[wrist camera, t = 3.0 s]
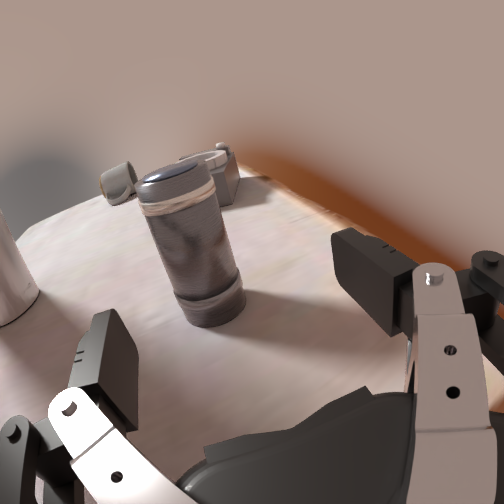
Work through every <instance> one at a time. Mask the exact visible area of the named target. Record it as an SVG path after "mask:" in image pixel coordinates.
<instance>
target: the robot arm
mask: <svg viewBox="0 0 504 504" xmlns="http://www.w3.org/2000/svg"><path fill="white" fill-rule="evenodd" d="M331 245H332V253H333V261H334V270H335V275H336V278H337V280H338V282H339V284H340V286H341V287H342V288H343V289H344V290H345V291H346V292H347V293H348V294H349V295H350V296H351V297H352V298H353V299H354V300H355V301H356V302H357V303H358V304H359V305H360V306H361V307H362V308H363V309H364V310H365V311H366V312H367V313H368V314H369V315H370V316H371V317H372V318H373V319H374V320H375V322H376V323H377V324H378V325H379V326H380V327H381V328H382V329H383V330H384V331H385V332H386V333H387V334H388V335H389V336H390V337H393V336H395V335H397V334H399V333H401V332H403V333H404V334H405V335H406V336H407V348H406V371H405V385H404V392H388V393H381V394H375V395H372V394H371V392H370V391H369V390H368V388H367V387H366V386H364V387H362V388H360V389H358V390H355V391H353V392H351V393H349V394H347V395H345V396H343V397H341V398H339V399H336V400H334V401H332V402H330V403H328V404H326V405H325V406H324V407H322V408H321V409H320V410H318V411H317V412H315V413H314V414H312V415H311V416H310V417H308V418H307V419H305V420H304V421H302V422H301V423H299V424H298V425H296V426H295V427H293V428H291V429H287V430H281V431H274V432H267V433H258V434H249V435H243V436H240V437H236V438H233V439H230V440H226V441H223V442H219V443H216V444H212V445H208V446H205V447H204V451H205V456H206V459H204V460H202V461H200V462H199V463H197V464H196V465H194V466H193V467H192V468H190V469H189V470H188V471H187V472H185V473H184V475H183V476H182V477H181V478H180V479H179V480H178V481H177V482H176V483H175V482H174V481H173V480H171V479H170V478H169V477H168V476H167V475H165V474H164V473H163V472H162V471H161V470H160V469H159V468H157V467H156V466H155V465H154V464H153V463H152V462H151V461H150V460H149V459H148V458H146V457H145V456H144V455H143V454H142V453H141V452H140V451H139V450H138V449H137V448H136V447H135V446H134V445H133V444H132V443H131V442H130V441H129V440H128V439H127V438H126V432H131V431H136V430H138V363H139V356H138V351H137V348H136V345H135V343H134V341H133V339H132V337H131V336H130V334H129V332H128V330H127V329H126V327H125V325H124V323H123V322H122V320H121V318H120V316H119V314H118V313H117V311H116V310H115V309H110V310H107V311H104V312H101V313H98V314H95V315H94V316H93V319H92V323H91V327H90V330H89V331H87V332H86V333H85V334H84V336H83V337H82V339H81V340H80V341H79V344H78V348H77V351H76V354H77V355H75V359H74V363H73V367H72V371H71V375H70V379H69V383H68V388H67V390H65V391H63V392H61V393H60V394H59V395H58V396H56V398H55V399H54V400H53V401H52V403H51V405H50V408H49V416H48V417H46V418H44V419H42V420H40V421H38V422H36V423H34V424H32V423H31V422H30V421H29V420H28V419H27V418H25V417H24V416H21V415H18V416H14V417H12V418H10V419H9V420H8V421H7V422H6V423H5V424H4V426H3V427H2V429H1V431H0V504H38V503H37V501H36V498H35V480H36V476H38V477H39V478H40V479H42V480H43V481H44V492H43V504H85V502H84V486H85V487H86V488H87V490H88V491H89V492H90V494H91V495H92V497H93V498H94V499H95V500H96V502H97V503H98V504H504V413H498V412H493V411H489V408H488V397H487V388H486V380H485V372H484V366H483V359H482V354H483V355H484V356H485V357H486V358H487V359H488V360H489V361H490V362H491V363H492V364H493V365H494V366H495V367H496V368H497V369H498V370H499V371H500V372H501V373H502V375H503V376H504V320H503V319H502V318H501V317H500V316H499V315H497V312H498V308H499V304H500V302H501V303H502V304H503V305H504V256H503V255H501V254H499V253H497V252H493V251H479V252H477V253H475V254H474V255H473V256H472V259H471V267H470V269H466V270H461V271H457V272H454V271H453V270H452V269H451V268H450V267H448V266H446V265H444V264H440V263H426V264H422V265H419V264H418V263H416V262H415V261H413V260H412V259H410V258H409V257H407V256H406V255H404V254H403V253H401V252H400V251H396V249H395V248H394V247H392V246H389V244H387V243H386V242H384V241H383V240H381V239H379V238H376V237H372V236H368V235H366V236H364V235H363V234H361V233H360V232H358V231H357V230H355V229H354V228H351V227H350V228H347V229H344V230H341V231H338V232H335V233H333V234H332V235H331ZM38 293H39V288H38V287H37V285H36V283H35V281H34V279H33V278H32V276H31V274H30V272H29V270H28V268H27V266H26V264H25V262H24V260H23V258H22V256H21V254H20V252H19V250H18V248H17V246H16V243H15V242H14V239H13V237H12V235H11V233H10V230H9V228H8V226H7V224H6V221H5V219H4V216H3V214H2V211H1V209H0V326H3V325H5V324H7V323H9V322H11V321H13V320H14V319H16V318H17V317H19V316H20V315H21V314H22V313H23V312H25V311H26V310H27V309H28V308H29V307H30V306H31V304H32V303H33V302H34V301H35V299H36V298H37V296H38Z"/></svg>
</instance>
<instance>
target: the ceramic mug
mask: <svg viewBox="0 0 504 504" xmlns="http://www.w3.org/2000/svg"><path fill="white" fill-rule="evenodd" d="M136 182H138V179H137V176H136V173H135V170H134V168H133V166H132V165H131V163H130V162H129V161H127V162H125V163H123V164H121V165H119V166H116V167H114V168H112V169H110V170H108V171H106V172H104V173H103V174H102V175H101V176H100V178H99V184H100V188H101V191H102V194H103V195H104V197H105V198H106V199H107V201H108V203H109V204H111V205H117V204H120V203H122V202H124V201H125V200H126V199H127V198H128V197H129V195H130V194H133V193H136V189H135V186H134V185H135V183H136Z"/></svg>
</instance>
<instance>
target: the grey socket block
mask: <svg viewBox="0 0 504 504" xmlns="http://www.w3.org/2000/svg"><path fill="white" fill-rule="evenodd" d="M216 147H217V148H214V149H210V150H206V151H202V152H198V153H194V154H190V155H187V156H183V157H181V158H180V159H179V160H180V161H179V162H183V161H189V160H206V161H207V164H208V167H209V171H210V175H212V176H213V180H214V184H215V187H216V190H215V193H216V196H217V200H218V204H219V207H221V206H226V205H231V204H233V200H234V197H235V193H236V190H237V187H238V183H239V180H240V175H239V171H238V167H237V163H236V159H235V155H234V152H232V153H231V151H230V147H229V145H227V146H225V142H222V143H218V144H216ZM179 162H176V163H179ZM174 164H175V163H174Z"/></svg>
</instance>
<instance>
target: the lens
mask: <svg viewBox="0 0 504 504" xmlns="http://www.w3.org/2000/svg"><path fill="white" fill-rule="evenodd" d="M134 186H135V189H136V192H137V195H138V198H139V200H138V203H139V205H140V208H141V211H142V214H143V215H145V218H146V220H147V223H148V226H149V228H150V231H151V234H152V236H153V239H154V241H155V244H156V247H157V249H158V252H159V254H160V257H161V259H162V262H163V264H164V267H165V269H166V272H167V274H168V277H169V279H170V281H171V284H172V286H173V289H174V294H175V297H176V299H177V301H178V304H179V305H180V307H181V308H182V309H183V312H184V314H185V316H186V318H187V320H188V321H189V322H190V323H191V324H192V325H195V326H198V327H214V326H219V325H222V324H224V323H227V322H229V321H230V320H232V319H234V318H235V317H236V316H237V315H238V314H239V313H240V312H241V311H242V310H243V308H244V306H245V303H246V298H245V294H244V291H243V287H242V286H243V283H242V279H241V276H240V272H239V270H238V268H237V267H236V263H235V260H234V256H233V253H232V249H231V246H230V242H229V239H228V235H227V232H226V228H225V225H224V221H223V218H222V214H221V211H220V207H219V204H218V200H217V196H216V193H215V190H216V187H215V184H214V180H213V176H212V175H210V171H209V167H208V164H207V161H206V160H189V161H183V162H179V163H175V164H172V165H169V166H166V167H163V168H160V169H158V170H156V171H153V172H151V173H149V174H148V175H146V176H144V177H143V178H142V179H141V180H139V181H138V182H136V183H135V185H134Z"/></svg>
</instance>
